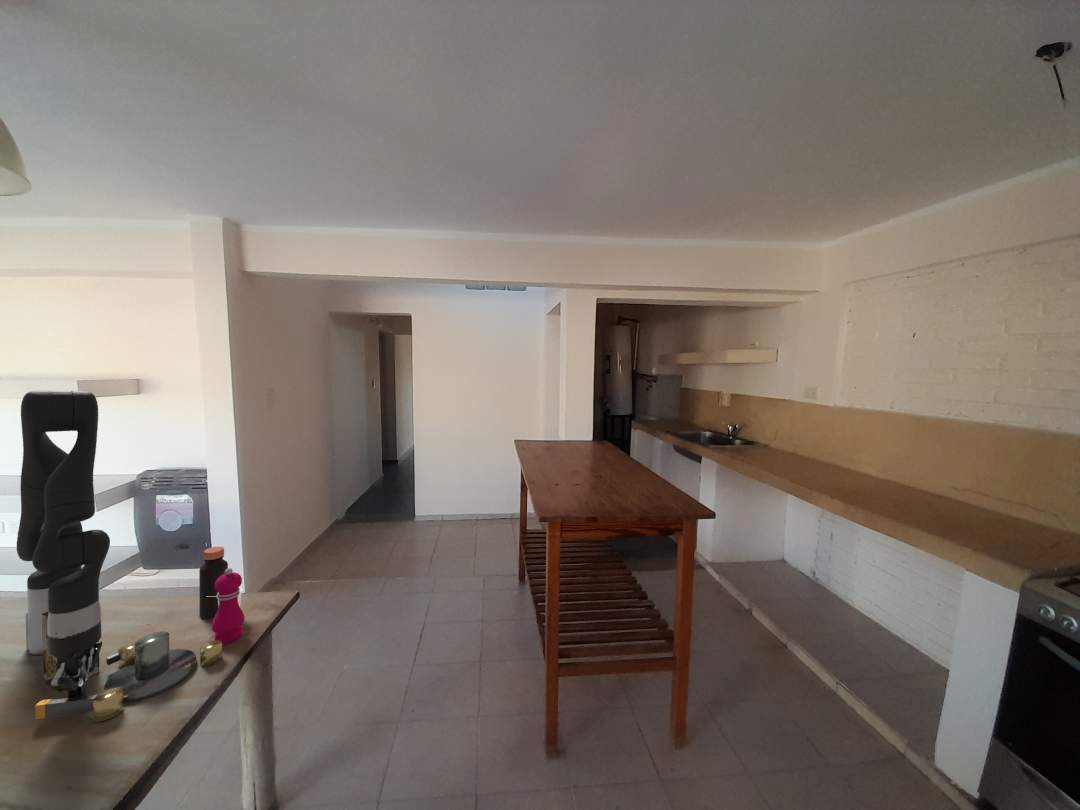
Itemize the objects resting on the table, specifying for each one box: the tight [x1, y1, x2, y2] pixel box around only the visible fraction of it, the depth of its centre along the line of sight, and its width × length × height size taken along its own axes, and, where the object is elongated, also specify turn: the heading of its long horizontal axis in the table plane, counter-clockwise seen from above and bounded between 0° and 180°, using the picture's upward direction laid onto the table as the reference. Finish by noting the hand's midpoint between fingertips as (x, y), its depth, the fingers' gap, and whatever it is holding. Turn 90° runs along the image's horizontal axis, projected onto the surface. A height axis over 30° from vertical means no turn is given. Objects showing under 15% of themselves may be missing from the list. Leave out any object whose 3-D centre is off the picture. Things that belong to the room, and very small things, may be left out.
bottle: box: [198, 546, 229, 619], centre depth 124 cm, size 7×7×20 cm
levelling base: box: [103, 631, 223, 704], centre depth 99 cm, size 23×19×10 cm
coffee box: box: [42, 611, 100, 681], centre depth 97 cm, size 9×6×16 cm
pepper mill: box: [211, 567, 245, 645], centre depth 112 cm, size 7×7×20 cm
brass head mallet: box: [34, 687, 124, 723], centre depth 85 cm, size 14×4×4 cm, turn 104°
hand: (77, 700), depth 87 cm, fingers closed
